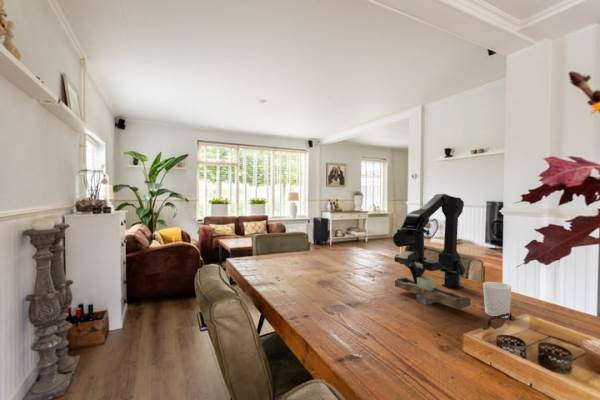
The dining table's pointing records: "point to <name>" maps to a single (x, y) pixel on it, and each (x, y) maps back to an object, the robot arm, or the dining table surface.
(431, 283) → the pale green cube
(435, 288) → the beam
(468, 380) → the dining table surface
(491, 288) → the white cup
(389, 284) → the dining table surface
